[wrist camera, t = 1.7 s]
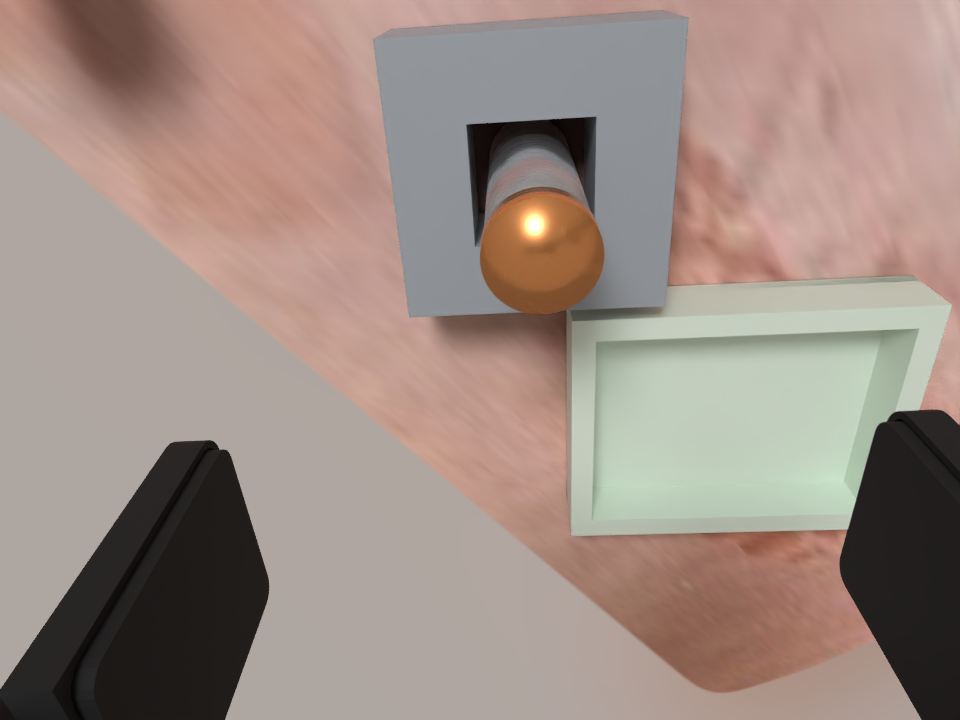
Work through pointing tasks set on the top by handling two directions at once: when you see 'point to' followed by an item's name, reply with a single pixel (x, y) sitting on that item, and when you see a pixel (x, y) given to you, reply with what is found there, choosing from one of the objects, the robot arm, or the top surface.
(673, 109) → the socket block
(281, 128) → the top surface
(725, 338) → the tray
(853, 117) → the top surface
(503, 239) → the pin
